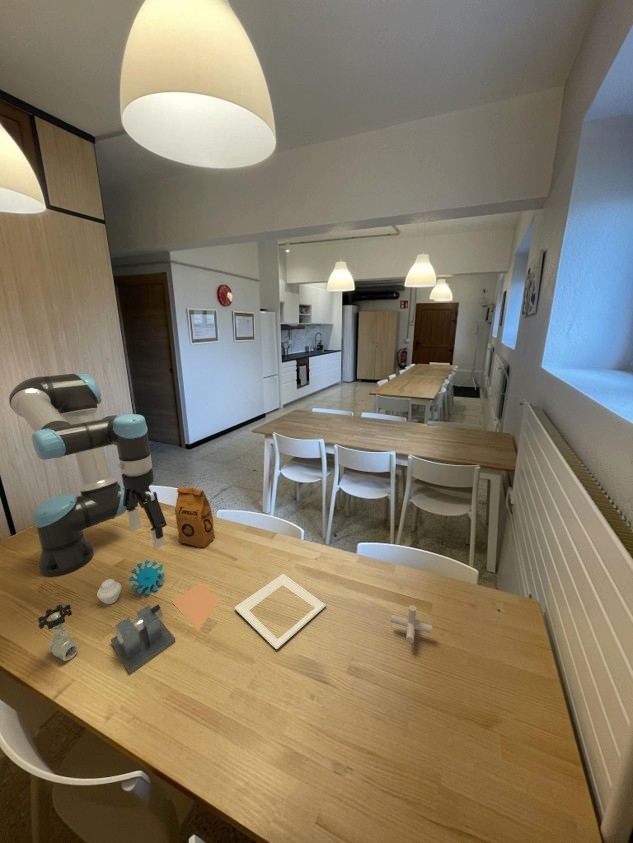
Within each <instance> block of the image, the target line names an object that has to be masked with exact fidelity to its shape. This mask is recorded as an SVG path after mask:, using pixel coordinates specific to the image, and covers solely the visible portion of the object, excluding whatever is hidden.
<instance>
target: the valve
mask: <svg viewBox="0 0 633 843" xmlns="http://www.w3.org/2000/svg"><path fill="white" fill-rule="evenodd" d="M72 614H73V612H72V608H71V604H67V605H65V606H64V607H63V605H62V604H58V605H57V606H56V607H55V608H54V609H51V608H49V609H46V610H45V615H41V616H39V617H38V618H37V621H38V627H39V629H40V630H43V629H44V628H45V626H47V630H53V633H54V635H53V636H52V638H51V639H50V640H49V641H48V643H47V648H48V651H49V652H51V653H52V654H53V656H55V657H56V658H59V659H61V660H62V661H64V662H67V661H68V660H72V659H73V658H74V657H75V656H76V654H78V652H79V650H80V648H79V644H78V642H76V641H74V639H73V638H72V637H70V636H69V632H68V630H67V629H65V628H64V623H65V622H66V618H65V617H66V616H68V617H71V616H72ZM49 617H50V620H48V618H49Z"/></svg>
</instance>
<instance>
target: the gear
mask: <svg viewBox="0 0 633 843" xmlns="http://www.w3.org/2000/svg"><path fill="white" fill-rule="evenodd" d="M150 563H151V560H149V559H146V560H145V561H144V567H142V566H143V562H139V563H137V565H136V567H137V568H138V569H137V568H135V567H134V568H133V569H132V570H131V571H130V573H131V574H134V575H135V576H136V578H135V576H133V575H131V576H130V577H129V579H128V581H129V582H137V583H132V584H131V586H130V587H131V589H132V590H134V589H136V587H141V588H138V589H137V590H136V593H137V595H140V594H142V593H143V590H144V589H145V588H147V590H145V591H144V595H147V596H148V595H150V593H151V587H152V592H157V591H158V590H159V588H158V586H161V585H163V583H164V580H161V579H162V578H164V577H165V572H162V571H163V567H164V566H165V562H161V563H160V564H159V566H157V565H158V561H156V560H154V561H152V563H151V565H150V566H148V565H149V564H150ZM155 566H157V567H156V568H154V567H155ZM137 570H138V572H137ZM158 576H159V577H160V578H161V579H159V577H158ZM156 582H157V585H158V586H157V585H156Z"/></svg>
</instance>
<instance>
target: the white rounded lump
mask: <svg viewBox="0 0 633 843" xmlns="http://www.w3.org/2000/svg"><path fill="white" fill-rule="evenodd" d="M121 591H122V584H121V583H120V582H118V581H116V580H115V579H113V578H107V579H106V580H104V581H103V582H102V583H101V584H100V587H99V589H98V590H97V593H96V595H97V598H98V599H99V601H101V602H102V603H104V604H105V605H111V604H114V603H115V602H116V601H117V600H118V599H119V597H120V595H121V594H120V593H121Z"/></svg>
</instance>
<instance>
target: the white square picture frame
mask: <svg viewBox="0 0 633 843" xmlns="http://www.w3.org/2000/svg"><path fill="white" fill-rule="evenodd" d="M282 586H283V587H285V588H286V589H288V590H289V591H291V592H292V593H294V595H296V596H298V597H299V598H300V599H302V600H303V601H304V602H306V603H308V604H309V605H311V606H312V607H313V609H312V610H311V611H309V612H308V613H307V614H306V615H305V616H303V618H301V619H300V620H299V621H298V622H296V623H295V624H294V625H293V626H292V627H291V628H289V630H287V631H286V632H285V633H284V634H282V635H281V636H280V637H279V638H277V637H276V636H275V635H274V634H273V633H272V632H271V631H270V630H269V628H267V627H266V626H265V625H264V624H263V623H262V622H261V621H260V620H259V619H258V618H257V617H256V616H255V615H254V614H253V613H252V612H251V611H250V610H251V609H253V608H254V607H255V606H257V605H258V604H260V603H261V602H262V601H264V600H265V599H266V598H267V597H269V596H270V595H271V594H273V593H274V592H275V591H277V590H278V589H279V588H281V587H282ZM326 606H327V605H326V603H324V602H323V601H322V600H320V599H319V598H317V597H316V596H315V595H313V594H312V593H311V592H309V591H308V590H306V589H305V588H304V587H302V586H301V585H300V584H298V583H297V582H295V580H293V579H291V578H290V577H289V576H288V575H286V574H285V573H282V574H280V575H279V576H277V577H276V578H274V579H273V580H272V581H270V582H269V583H267V584H266V585H264V586H263V587H261V588H260V589H259V590H257V591H255V592H254V593H253V594H251V595H250V596H249V597H247V598H246V599H244V600H243V601H241V602H240V603H238V604H237V605H235V606H234V610H235V611H237V613H239V615H241V616H242V618H244V619H245V620H246V621H247V622H248V623H249V624H250V626H252V628H253V629H254V630H256V631H257V633H259V634H260V635H261V636H262V637H263V638H264V639H265V640H266V641H267V642H268V643H269V644H270V645H271V646H272V647H273V648H275V650H278V649H279V648H281V647H282V646H283V645H284V644H285V643H286V642H288V640H290V639H291V638H292V636H294V635H295V634H297V633H298V632H299V630H301V629H302V628H303V627H304V626H305V625H306V624H307V623H308V622H310V621H311V620H312V619H313V618H314V617H315V616H316V615H317V614H319V613H320V612H321V611H322V610H323V609H325V607H326Z"/></svg>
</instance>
